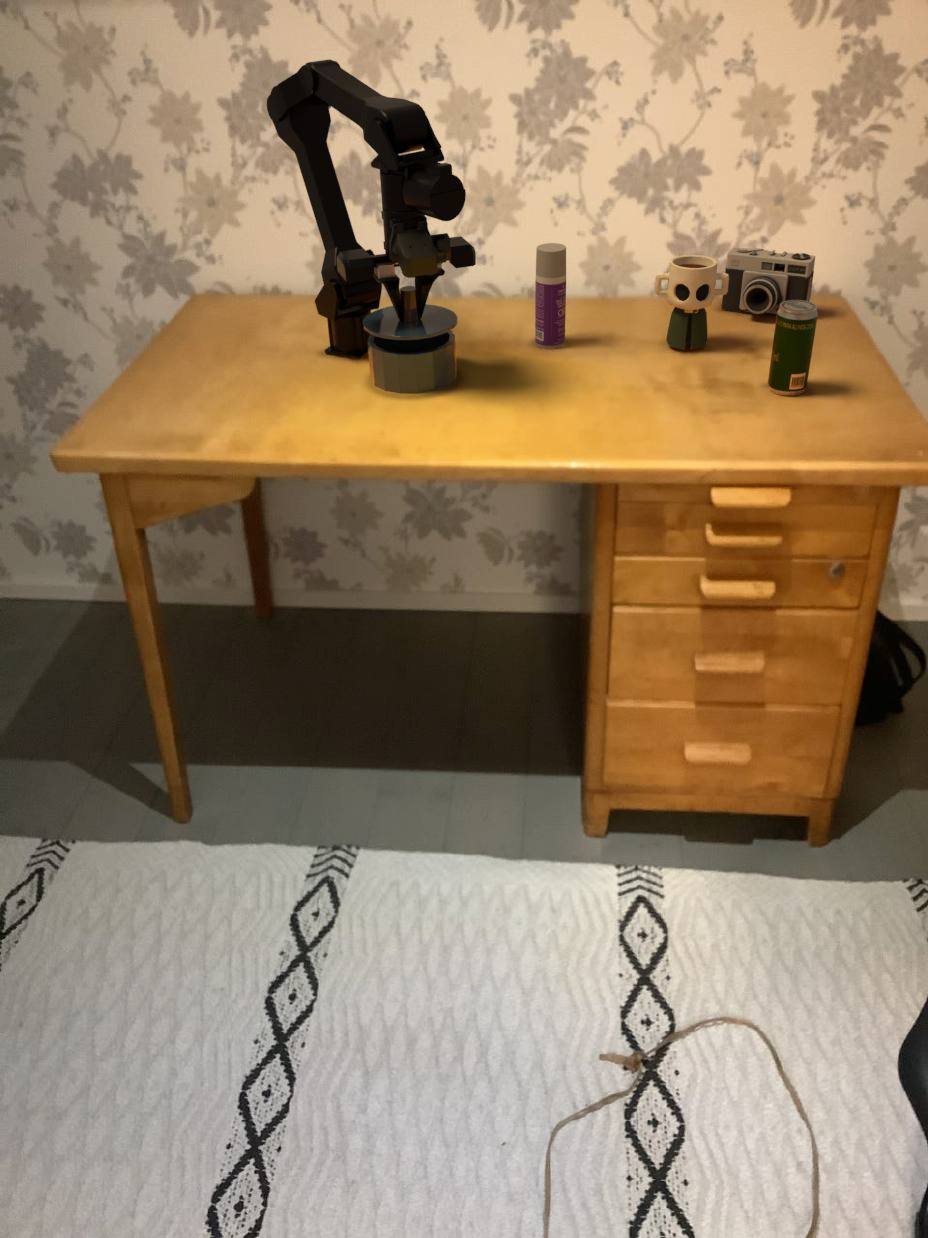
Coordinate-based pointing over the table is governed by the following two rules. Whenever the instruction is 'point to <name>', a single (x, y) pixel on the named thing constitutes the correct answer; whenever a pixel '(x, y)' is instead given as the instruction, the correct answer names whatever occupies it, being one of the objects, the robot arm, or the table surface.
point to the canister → (412, 363)
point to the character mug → (690, 297)
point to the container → (550, 295)
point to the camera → (766, 280)
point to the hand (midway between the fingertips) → (409, 318)
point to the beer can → (792, 347)
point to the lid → (410, 319)
